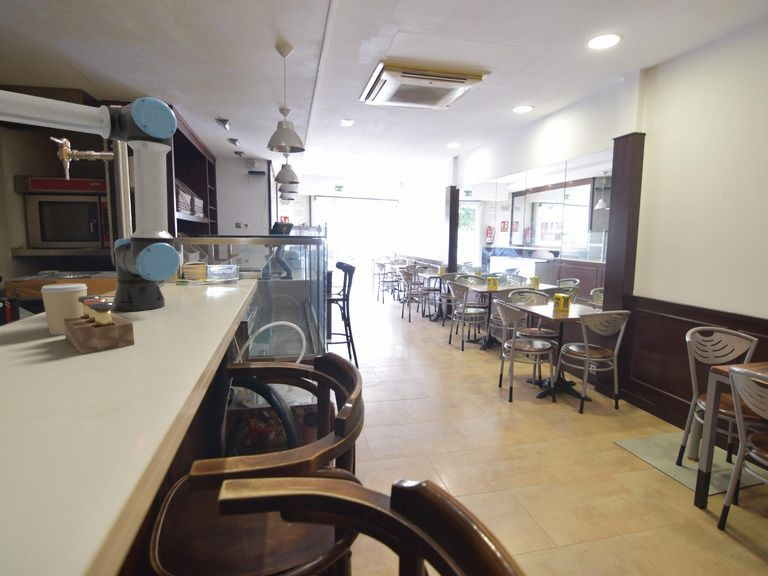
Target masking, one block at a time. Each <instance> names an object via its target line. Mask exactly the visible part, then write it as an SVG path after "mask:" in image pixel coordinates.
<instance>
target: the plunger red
mask: <svg viewBox="0 0 768 576" xmlns="http://www.w3.org/2000/svg"><path fill="white" fill-rule="evenodd" d="M95 302H108V299H107V298H103V297H101V298H96V299H87V300H84V305H85V306H88V311H89V321H90V323H96V322H95V311H94V309H90V304H91V303H95Z"/></svg>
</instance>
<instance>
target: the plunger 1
mask: <svg viewBox="0 0 768 576" xmlns="http://www.w3.org/2000/svg"><path fill="white" fill-rule="evenodd" d="M96 298H102V297H101V295H100V294H99V295H98V294H96V295H95V294H93V295H90V294H89V295H87V296H81V297H78V301H79V302H82V305H83V315H84V319H89V311H88V306H85V305H84V300H87V299H96Z"/></svg>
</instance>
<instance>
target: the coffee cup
mask: <svg viewBox="0 0 768 576" xmlns="http://www.w3.org/2000/svg"><path fill="white" fill-rule="evenodd" d="M40 292H41V295H42V301H43V307H44V311H45V316H46V322H47V326H48V330H49V334H51V335H58V336H61V335H65V326H64V318H71V317H79V316H84V315H83V305H82V302H79V301H78V297H81V296H88V294H87V293H88V286H87V284H86V283H83V282H72V283H71V282H69V283H68V282H66V283H65V282H64V283H54V284H53V283H52V284H46V285H43V286H42V287H41V289H40Z"/></svg>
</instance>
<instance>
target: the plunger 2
mask: <svg viewBox="0 0 768 576" xmlns="http://www.w3.org/2000/svg"><path fill="white" fill-rule="evenodd" d="M113 307H114V302H113V301H107V302H95V303H91V304H90V309H94V311H95V322H96V328H100V327H107V326H112V318H111V313H112V309H113Z"/></svg>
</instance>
